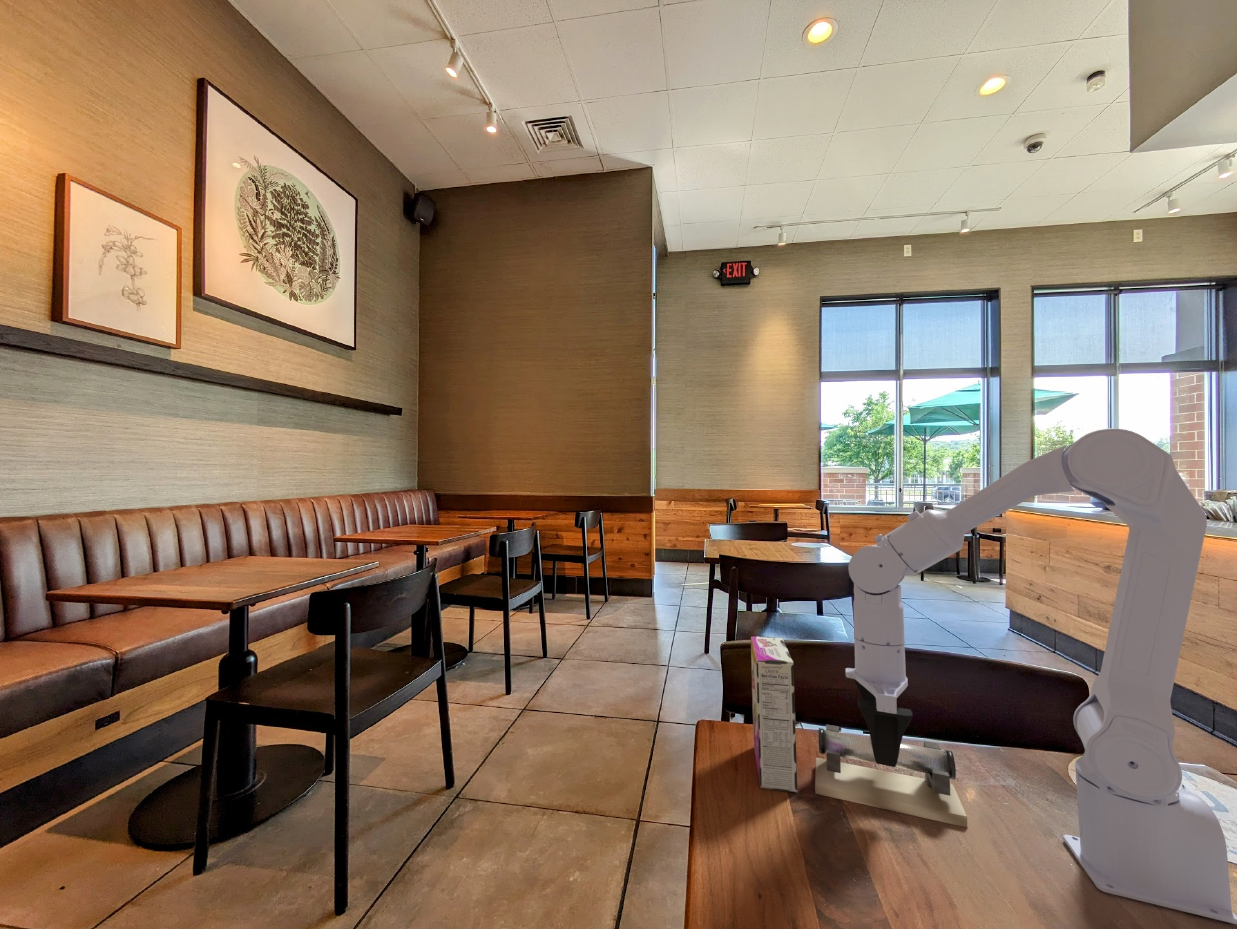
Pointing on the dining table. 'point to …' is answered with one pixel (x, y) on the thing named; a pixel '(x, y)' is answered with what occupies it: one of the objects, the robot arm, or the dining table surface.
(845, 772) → the rack
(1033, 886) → the dining table surface
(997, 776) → the dining table surface
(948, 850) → the dining table surface
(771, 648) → the candy bar box
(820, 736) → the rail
